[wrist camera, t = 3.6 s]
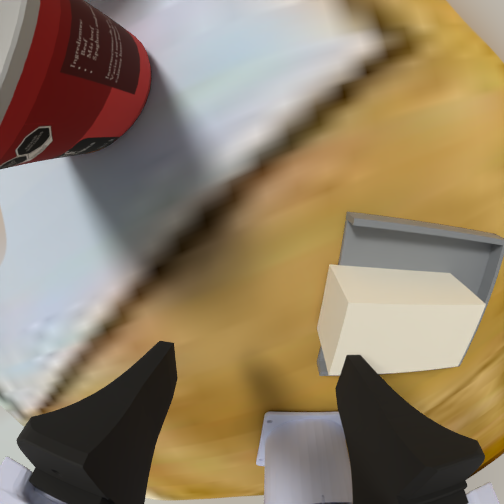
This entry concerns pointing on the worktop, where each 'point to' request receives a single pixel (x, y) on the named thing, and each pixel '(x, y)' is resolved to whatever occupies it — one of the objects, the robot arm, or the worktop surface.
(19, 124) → the canned food
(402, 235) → the tray
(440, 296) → the cream block
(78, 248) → the worktop surface
